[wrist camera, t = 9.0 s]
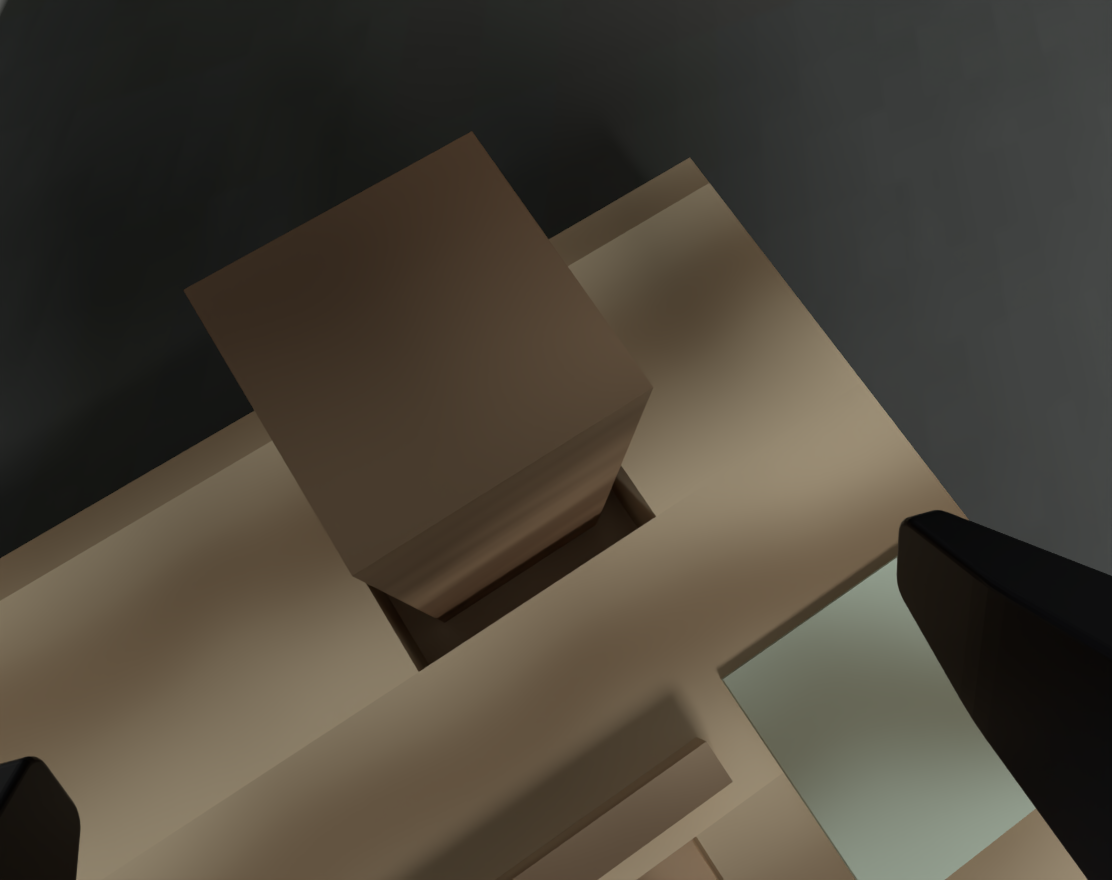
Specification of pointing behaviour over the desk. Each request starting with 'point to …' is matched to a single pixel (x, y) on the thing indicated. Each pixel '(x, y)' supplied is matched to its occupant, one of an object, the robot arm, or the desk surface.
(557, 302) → the peg
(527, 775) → the puzzle board
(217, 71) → the desk surface
